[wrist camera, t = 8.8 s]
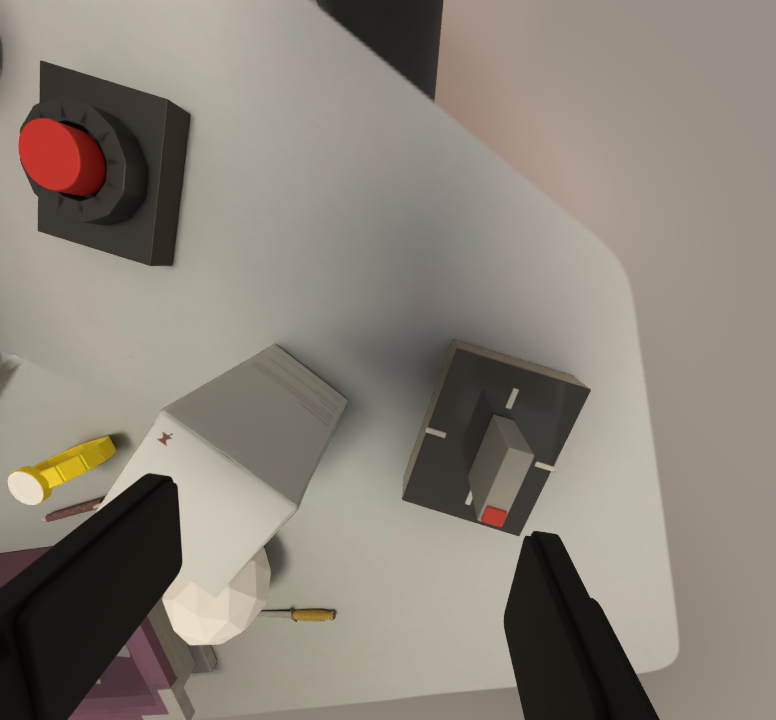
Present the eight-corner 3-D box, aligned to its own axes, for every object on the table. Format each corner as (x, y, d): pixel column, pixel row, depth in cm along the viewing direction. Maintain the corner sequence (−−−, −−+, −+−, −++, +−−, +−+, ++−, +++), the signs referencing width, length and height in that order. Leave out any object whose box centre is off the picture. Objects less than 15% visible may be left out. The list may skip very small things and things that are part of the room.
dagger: (231, 623, 35) (223, 612, 34) (235, 613, 36) (228, 602, 35) (336, 627, 33) (331, 615, 32) (338, 616, 34) (333, 604, 33)
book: (12, 679, 40) (-44, 736, 35) (-62, 561, 36) (-135, 607, 32) (218, 663, 37) (188, 724, 32) (161, 531, 33) (116, 578, 28)
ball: (235, 518, 35) (153, 531, 28) (299, 535, 31) (222, 554, 25) (218, 607, 33) (126, 642, 26) (284, 635, 30) (197, 685, 23)
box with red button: (492, 413, 24) (509, 449, 19) (514, 420, 24) (536, 457, 19) (467, 476, 25) (477, 523, 21) (487, 482, 25) (502, 531, 21)
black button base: (73, 77, 24) (6, 42, 20) (190, 113, 23) (145, 85, 20) (68, 233, 26) (7, 228, 22) (172, 265, 26) (129, 266, 22)
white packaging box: (224, 409, 29) (83, 515, 17) (275, 340, 27) (158, 404, 15) (297, 464, 30) (213, 604, 18) (352, 401, 28) (300, 509, 16)
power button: (49, 120, 21) (17, 108, 19) (109, 139, 21) (81, 128, 19) (48, 186, 22) (17, 179, 20) (104, 203, 22) (78, 198, 20)
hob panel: (451, 337, 26) (455, 347, 23) (574, 375, 26) (594, 390, 23) (402, 476, 29) (399, 501, 26) (510, 510, 29) (521, 539, 26)
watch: (119, 422, 30) (49, 460, 24) (135, 451, 31) (70, 494, 25) (63, 441, 31) (-18, 482, 25) (79, 468, 32) (5, 514, 26)
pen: (143, 484, 31) (134, 491, 31) (147, 492, 32) (139, 499, 31) (42, 514, 33) (31, 521, 32) (46, 521, 34) (35, 528, 33)
